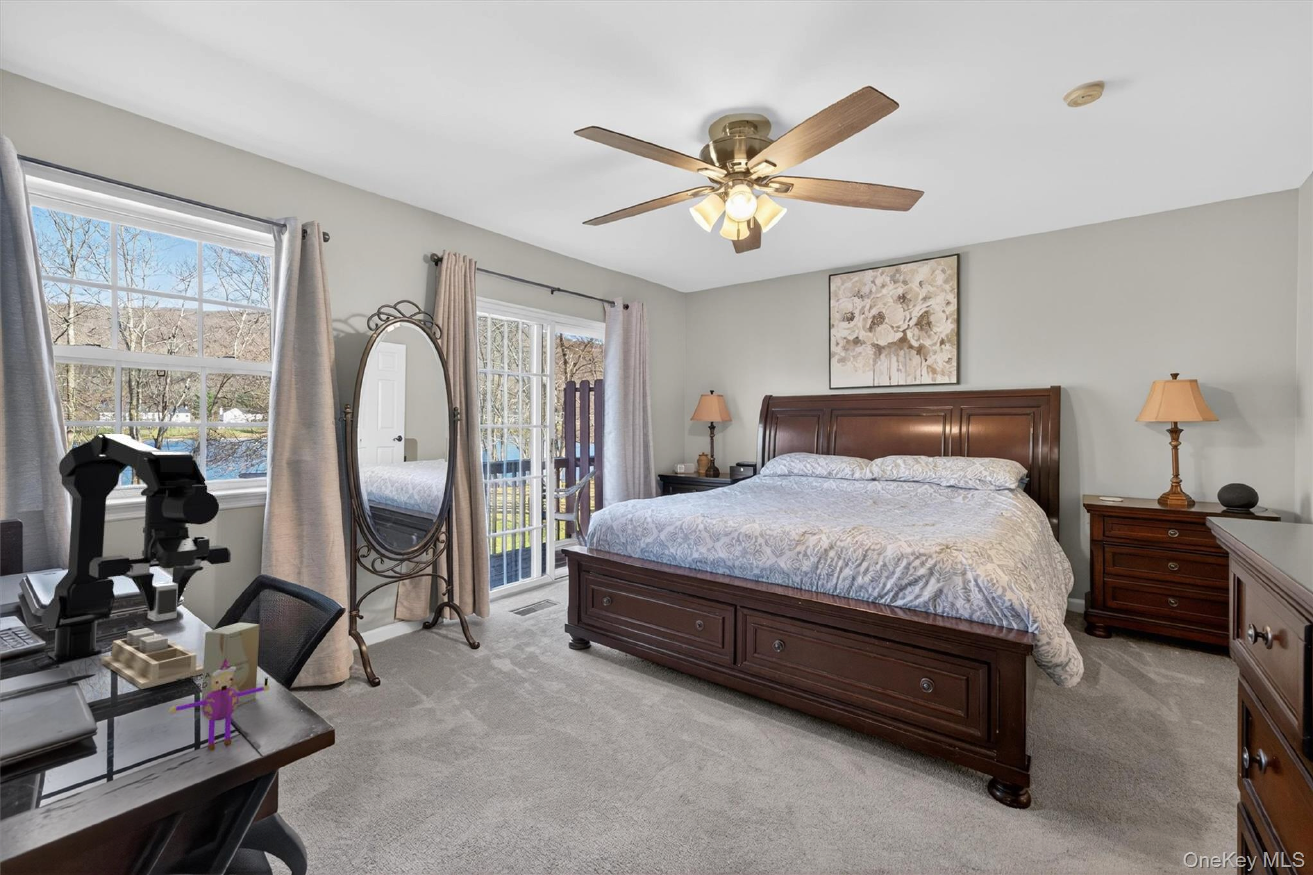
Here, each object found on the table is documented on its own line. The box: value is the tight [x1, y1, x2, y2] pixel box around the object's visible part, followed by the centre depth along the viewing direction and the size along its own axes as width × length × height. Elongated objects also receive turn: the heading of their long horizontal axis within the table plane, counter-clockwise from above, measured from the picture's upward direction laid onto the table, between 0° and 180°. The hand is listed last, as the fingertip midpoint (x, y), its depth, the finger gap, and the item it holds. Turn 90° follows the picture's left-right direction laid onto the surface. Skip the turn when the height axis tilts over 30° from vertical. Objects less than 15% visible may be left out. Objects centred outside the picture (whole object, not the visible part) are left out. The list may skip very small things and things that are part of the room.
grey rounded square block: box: [147, 580, 178, 622], centre depth 104 cm, size 4×3×6 cm, turn 56°
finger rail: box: [101, 627, 204, 690], centre depth 109 cm, size 21×9×6 cm, turn 57°
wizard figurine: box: [168, 658, 270, 751], centre depth 81 cm, size 11×3×12 cm, turn 136°
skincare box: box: [200, 622, 260, 711], centre depth 94 cm, size 6×4×12 cm
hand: (162, 608), depth 105 cm, fingers closed on grey rounded square block, 3 cm apart
